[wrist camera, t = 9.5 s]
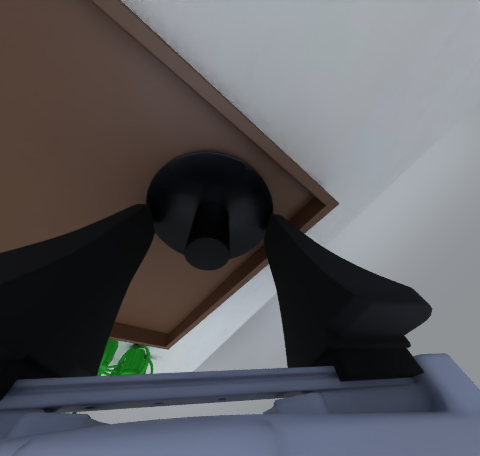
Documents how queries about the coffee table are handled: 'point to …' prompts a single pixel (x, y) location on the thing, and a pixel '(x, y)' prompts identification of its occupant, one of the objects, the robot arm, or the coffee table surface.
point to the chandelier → (132, 362)
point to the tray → (122, 149)
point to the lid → (209, 207)
